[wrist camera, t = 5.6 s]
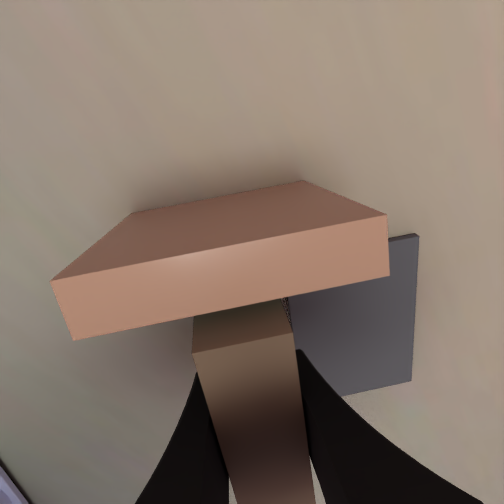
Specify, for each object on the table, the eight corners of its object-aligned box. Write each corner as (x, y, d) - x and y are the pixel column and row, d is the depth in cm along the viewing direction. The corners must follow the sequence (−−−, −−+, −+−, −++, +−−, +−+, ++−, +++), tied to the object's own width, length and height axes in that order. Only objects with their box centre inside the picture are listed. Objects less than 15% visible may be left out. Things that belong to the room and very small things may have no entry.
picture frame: (308, 217, 16) (389, 280, 9) (141, 249, 16) (75, 346, 8) (303, 180, 16) (386, 214, 8) (131, 213, 15) (49, 280, 8)
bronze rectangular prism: (286, 399, 16) (317, 516, 12) (235, 410, 16) (246, 532, 12) (262, 249, 13) (292, 333, 8) (197, 262, 13) (191, 354, 8)
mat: (407, 376, 22) (411, 380, 21) (301, 399, 21) (303, 404, 21) (414, 233, 17) (419, 236, 17) (282, 260, 17) (283, 263, 17)
